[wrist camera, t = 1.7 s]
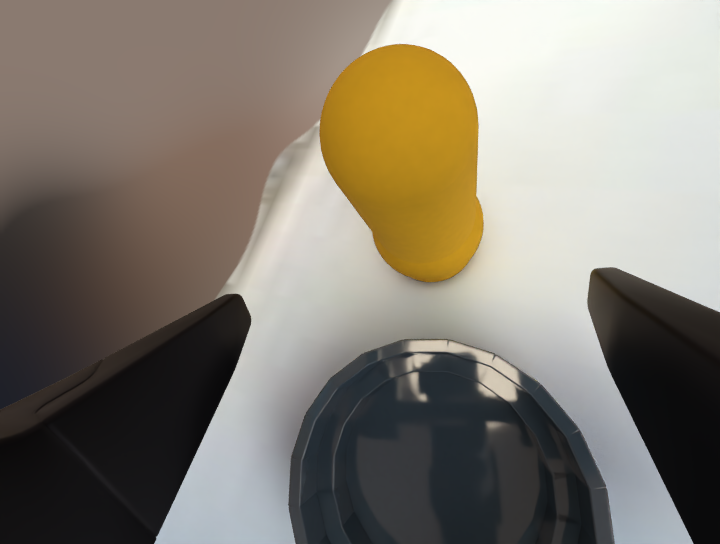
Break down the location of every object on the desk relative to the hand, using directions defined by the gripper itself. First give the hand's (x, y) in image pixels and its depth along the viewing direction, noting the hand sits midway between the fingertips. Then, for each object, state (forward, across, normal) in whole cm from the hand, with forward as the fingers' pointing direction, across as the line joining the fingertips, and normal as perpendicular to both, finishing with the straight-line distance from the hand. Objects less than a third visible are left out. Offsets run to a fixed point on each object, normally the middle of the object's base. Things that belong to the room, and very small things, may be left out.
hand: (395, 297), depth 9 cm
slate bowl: (+4, 0, +14) cm, 14 cm away
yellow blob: (+12, 0, +5) cm, 13 cm away
